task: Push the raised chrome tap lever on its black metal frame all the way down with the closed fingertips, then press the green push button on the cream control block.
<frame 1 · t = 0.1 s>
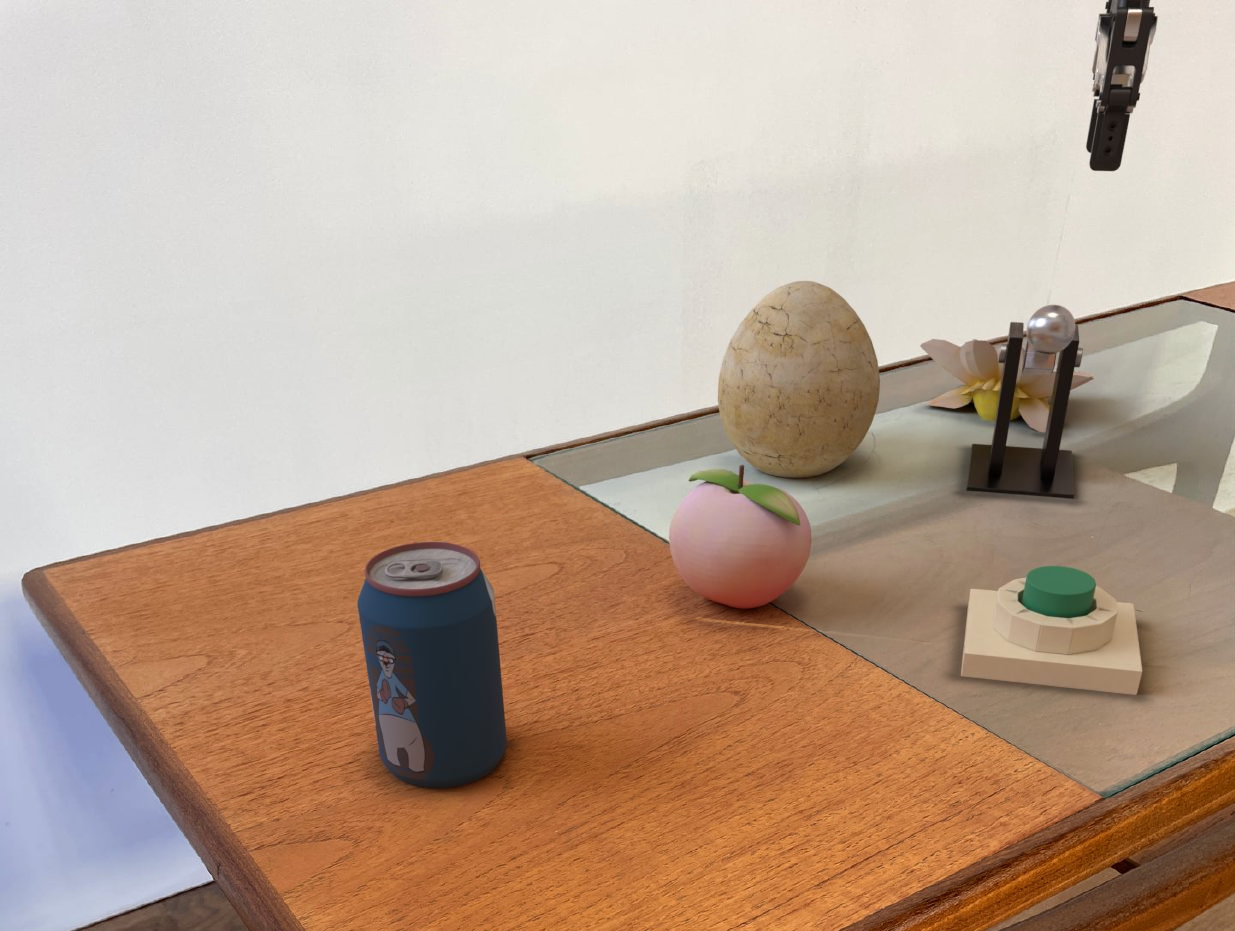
hand: (1101, 161, 99), 22 cm above the table, tool pointing down, fingers open, 8 cm apart
decorative flower: (1008, 423, 115), on the table
soda can: (446, 769, 71), on the table
green push button: (1058, 593, 77), point 4 cm above the table, slide at 0.1 cm
fossilized egg: (792, 476, 106), on the table
tap lever: (1045, 343, 93), point 12 cm above the table, hinge at 25.0°
button block: (1045, 659, 79), on the table
decorative fruit: (733, 615, 85), on the table
black metal frame: (1018, 482, 103), on the table
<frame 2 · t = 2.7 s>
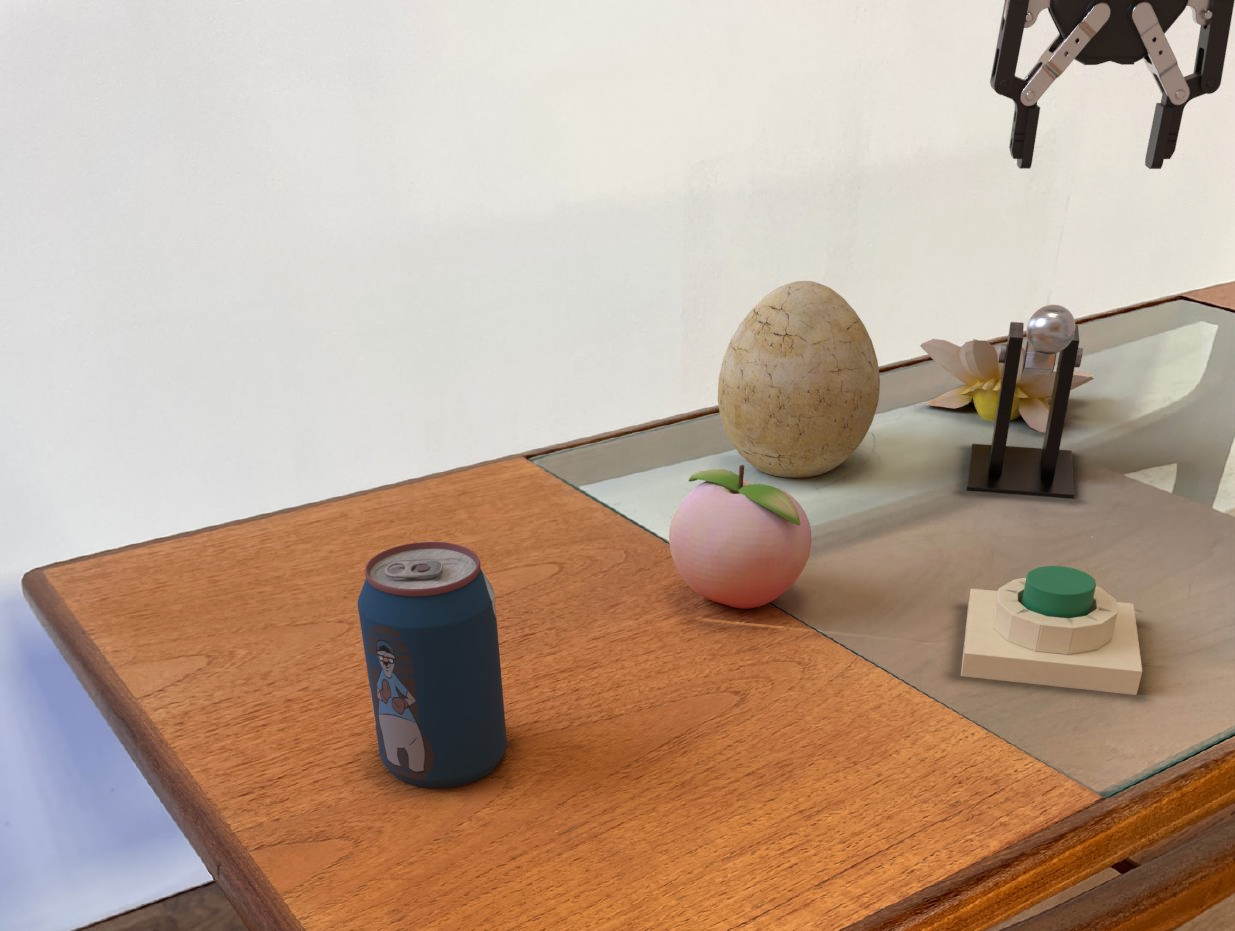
hand: (1088, 167, 87), 23 cm above the table, tool pointing down, fingers open, 8 cm apart
nothing on the table moved.
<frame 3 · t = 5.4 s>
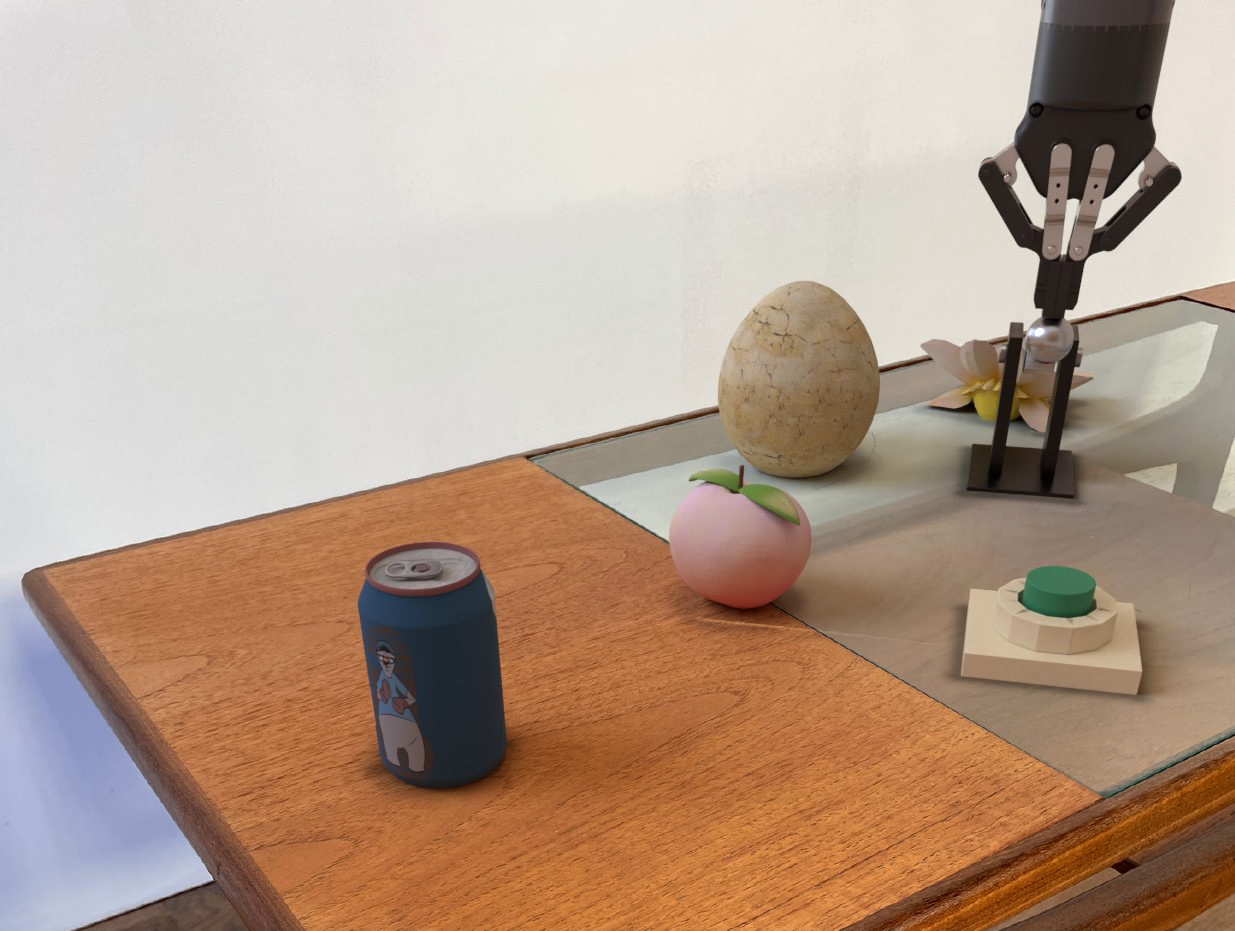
hand: (1052, 315, 87), 15 cm above the table, tool pointing down, fingers closed
tap lever: (1044, 347, 93), point 12 cm above the table, hinge at 21.3°, touching gripper
everything else where it was.
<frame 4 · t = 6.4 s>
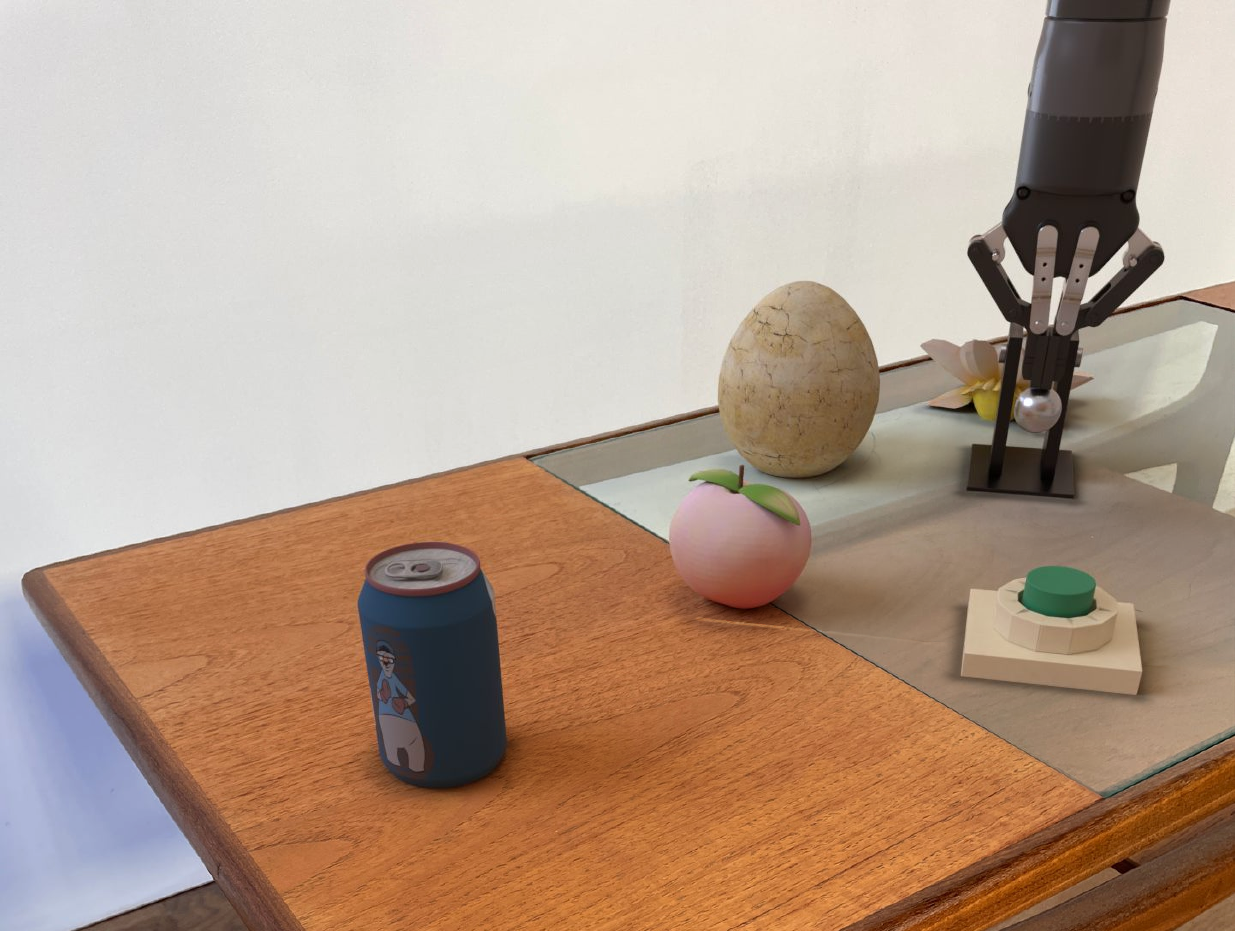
hand: (1040, 386, 89), 11 cm above the table, tool pointing down, fingers closed
tap lever: (1038, 381, 94), point 10 cm above the table, hinge at -5.5°, touching gripper
everything else where it was.
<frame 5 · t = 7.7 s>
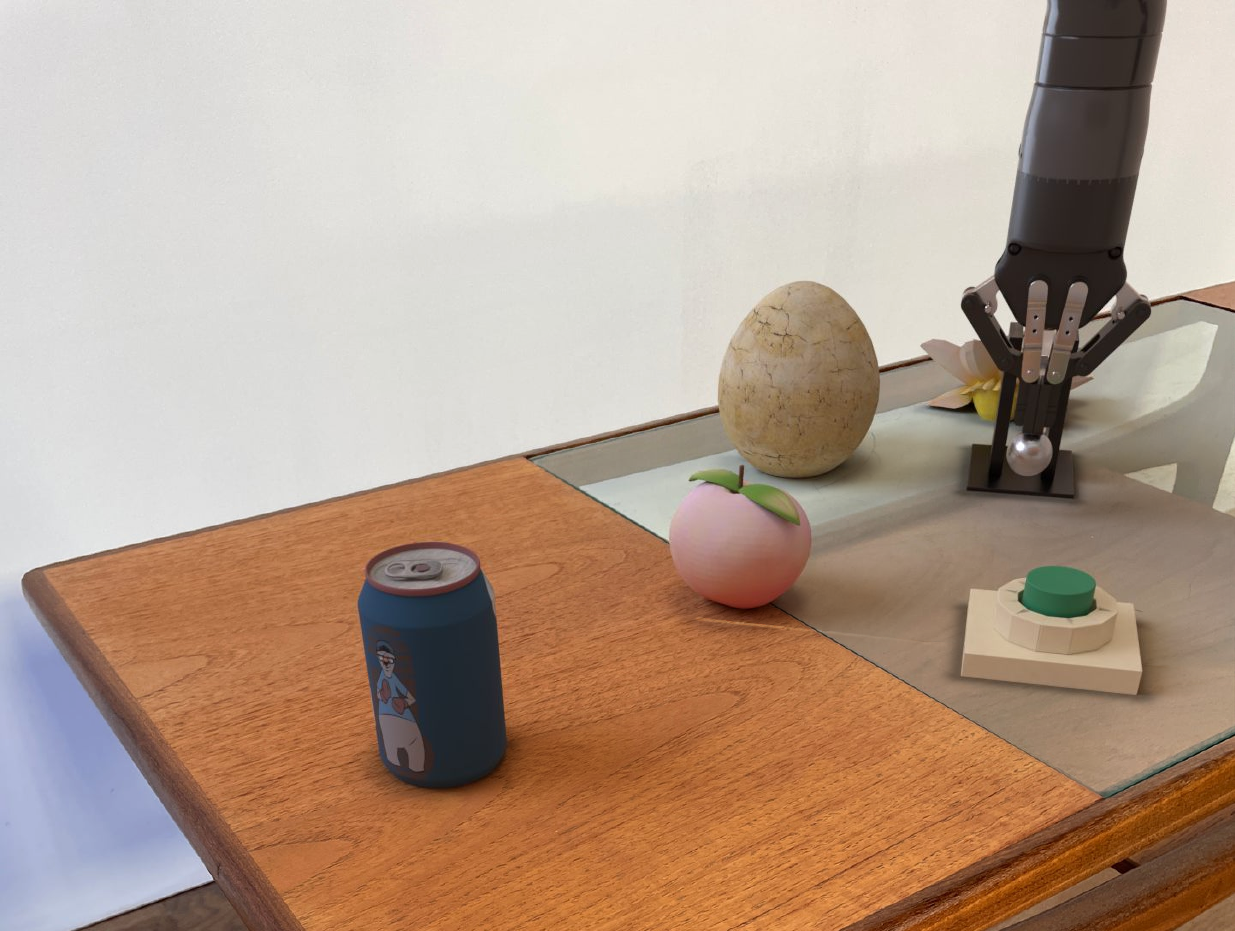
hand: (1032, 431, 92), 7 cm above the table, tool pointing down, fingers closed
tap lever: (1034, 404, 95), point 8 cm above the table, hinge at -26.6°, touching gripper
everything else where it was.
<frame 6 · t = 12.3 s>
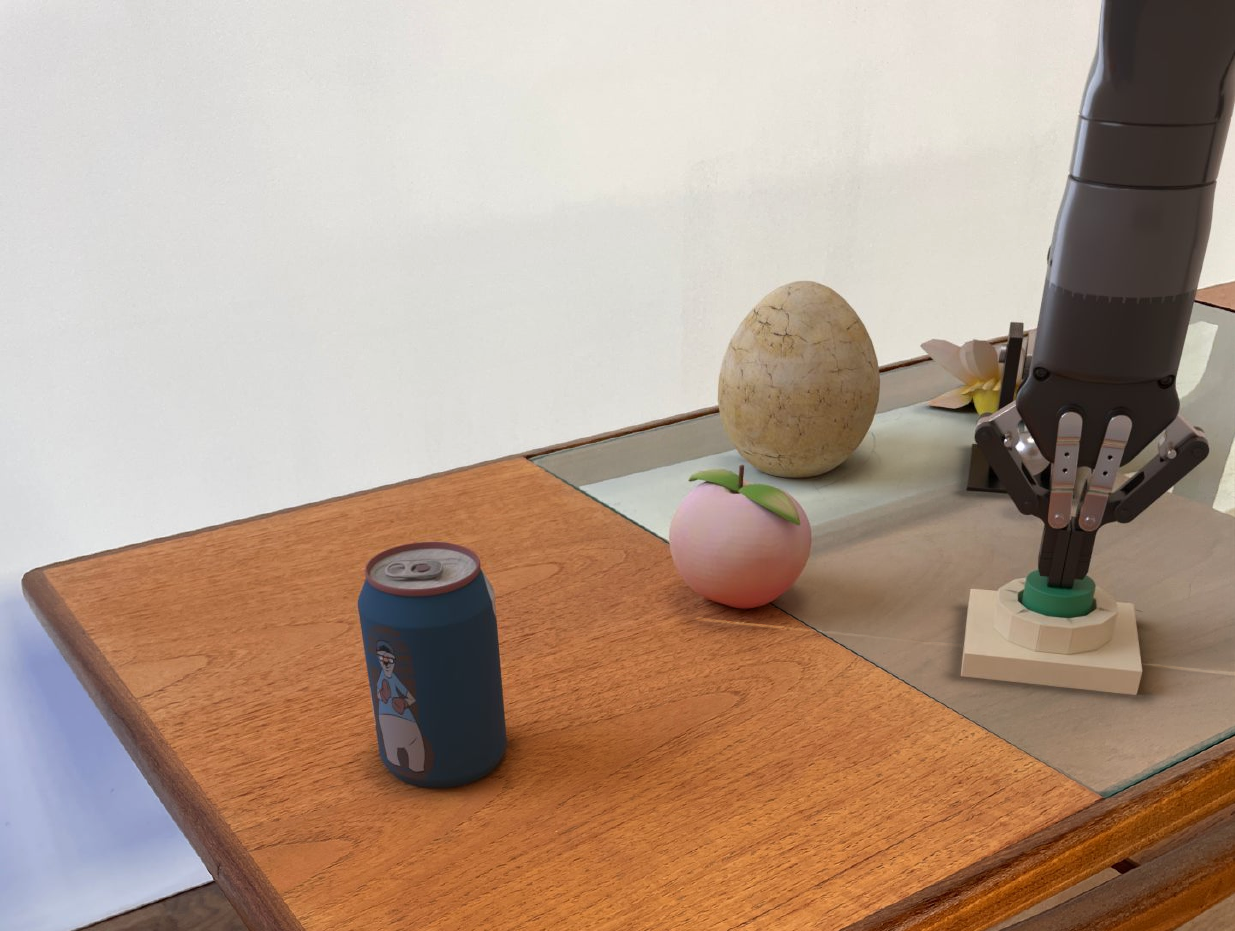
hand: (1059, 581, 76), 5 cm above the table, tool pointing down, fingers closed
green push button: (1058, 594, 77), point 4 cm above the table, slide at 0.0 cm, touching gripper
tap lever: (1034, 404, 95), point 8 cm above the table, hinge at -26.6°
everything else where it was.
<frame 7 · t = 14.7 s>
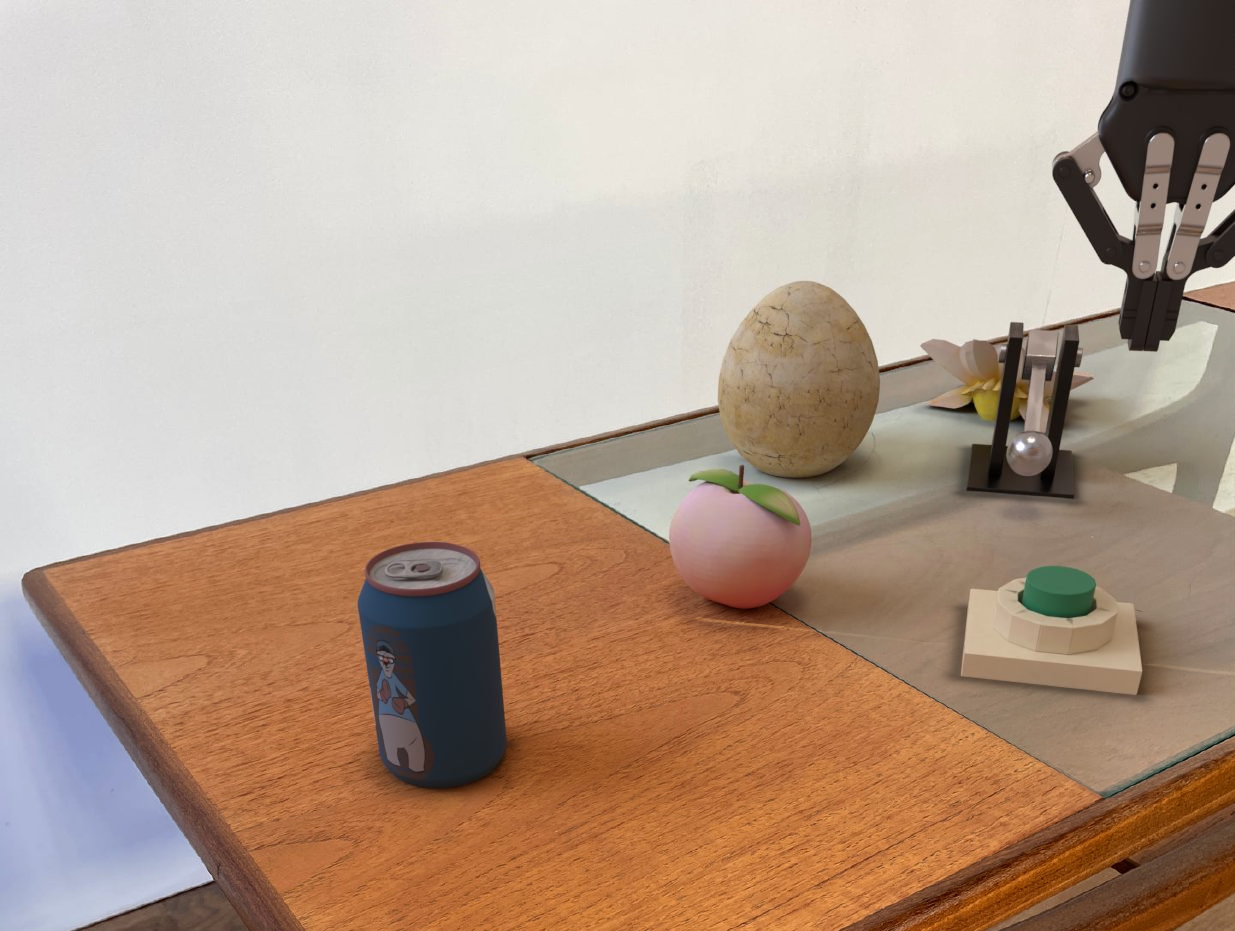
hand: (1142, 347, 70), 18 cm above the table, tool pointing down, fingers closed
green push button: (1058, 592, 77), point 4 cm above the table, slide at 0.1 cm
everything else where it was.
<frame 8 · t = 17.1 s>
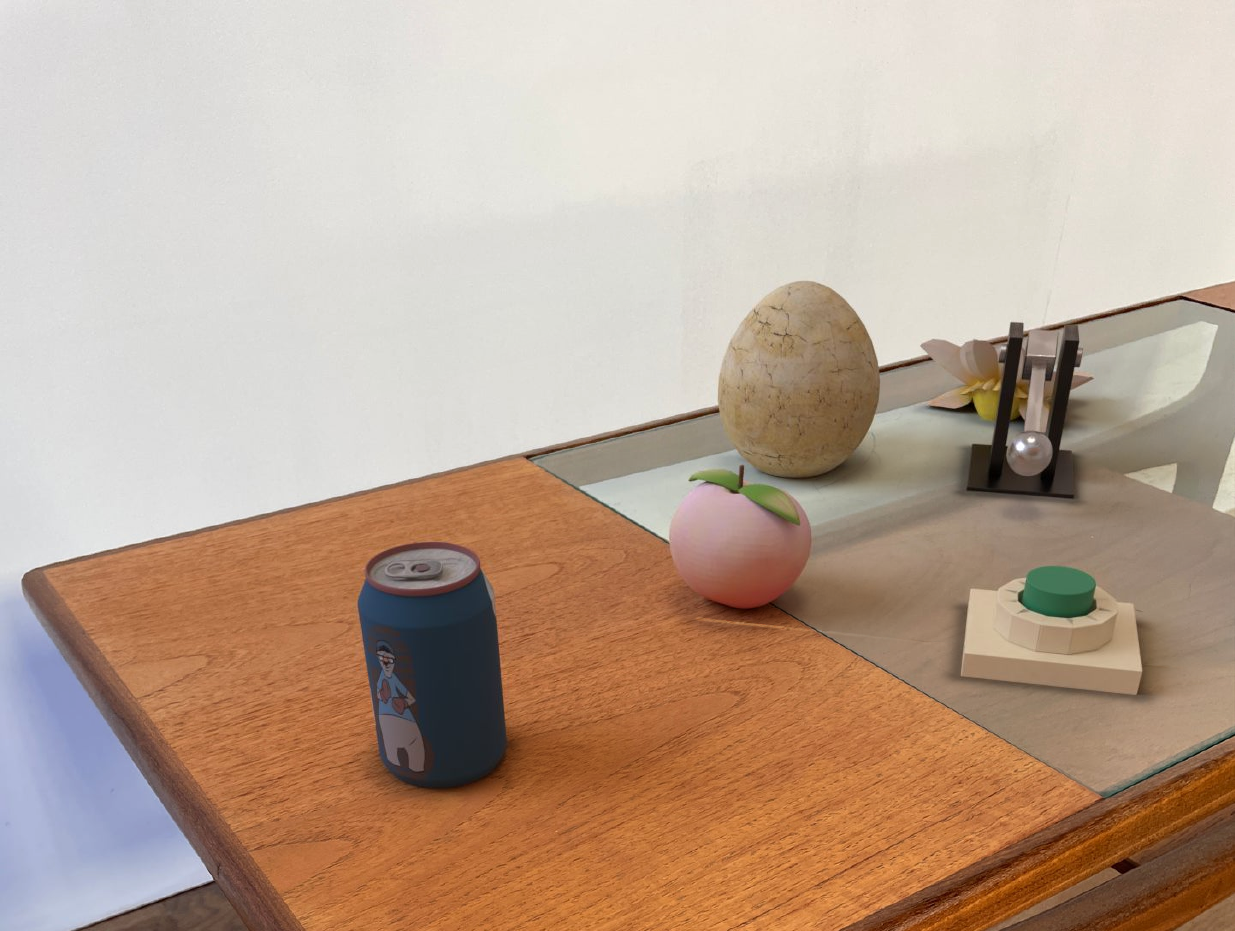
nothing on the table moved.
at the end: tap lever at -27° (first picture: +25°); green push button pushed in 1.1 cm at the most during the clip, back to where it started at the end; green push button slide at 0.1 cm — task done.
